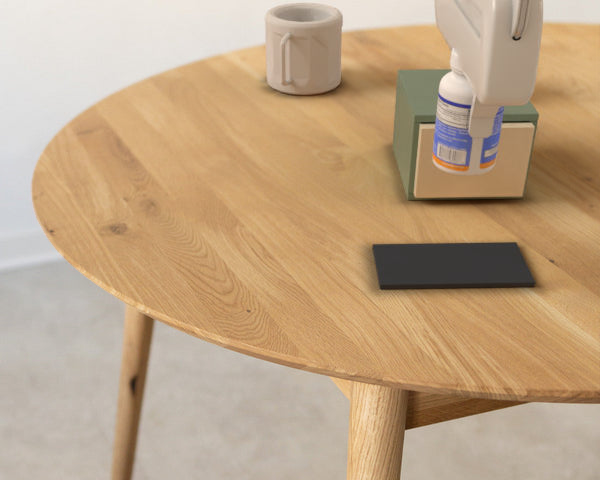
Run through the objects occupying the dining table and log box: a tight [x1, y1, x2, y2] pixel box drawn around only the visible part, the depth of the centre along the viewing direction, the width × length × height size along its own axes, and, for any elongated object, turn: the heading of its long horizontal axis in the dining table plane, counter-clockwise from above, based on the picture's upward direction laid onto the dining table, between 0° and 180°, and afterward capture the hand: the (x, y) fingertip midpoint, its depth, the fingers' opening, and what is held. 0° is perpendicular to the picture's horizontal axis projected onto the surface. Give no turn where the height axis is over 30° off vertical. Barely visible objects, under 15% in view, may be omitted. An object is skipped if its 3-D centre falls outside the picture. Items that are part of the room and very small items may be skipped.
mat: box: [371, 241, 536, 290], centre depth 73 cm, size 14×7×1 cm, turn 91°
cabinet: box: [391, 68, 540, 201], centre depth 87 cm, size 14×13×10 cm
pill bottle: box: [433, 48, 504, 176], centre depth 64 cm, size 5×5×10 cm
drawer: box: [414, 121, 535, 198], centre depth 85 cm, size 14×11×8 cm
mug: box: [264, 2, 344, 96], centre depth 109 cm, size 14×11×10 cm
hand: (469, 117), depth 65 cm, fingers closed on pill bottle, 5 cm apart
